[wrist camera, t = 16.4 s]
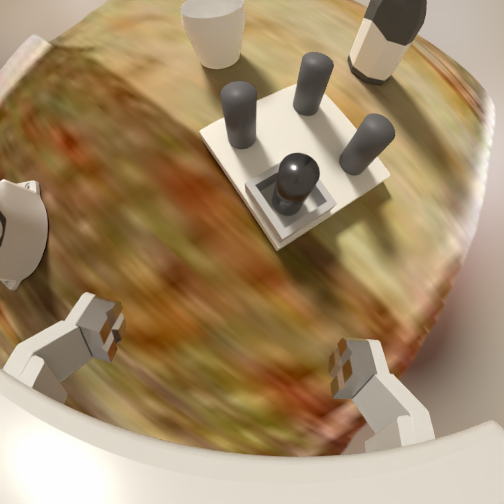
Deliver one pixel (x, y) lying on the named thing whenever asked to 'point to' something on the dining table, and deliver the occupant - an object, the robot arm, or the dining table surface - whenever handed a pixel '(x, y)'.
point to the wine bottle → (385, 38)
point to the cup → (215, 30)
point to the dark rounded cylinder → (294, 183)
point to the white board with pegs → (296, 148)
